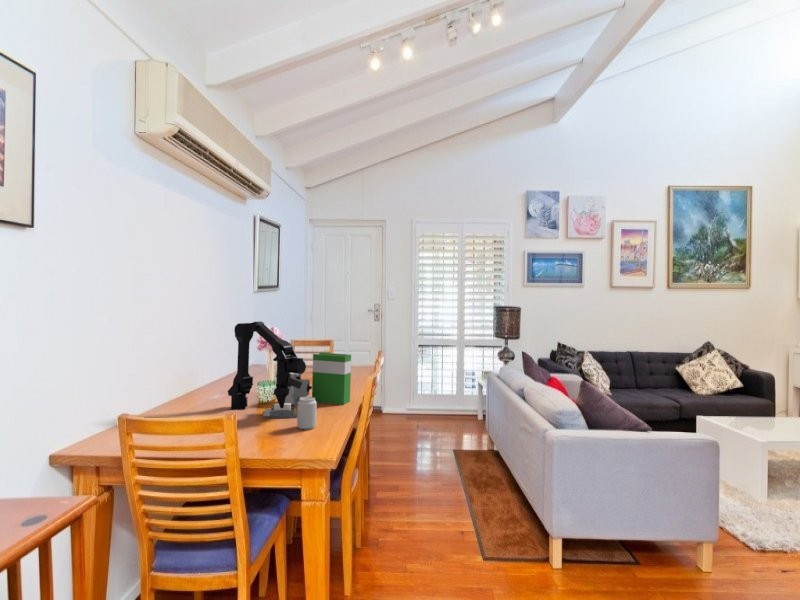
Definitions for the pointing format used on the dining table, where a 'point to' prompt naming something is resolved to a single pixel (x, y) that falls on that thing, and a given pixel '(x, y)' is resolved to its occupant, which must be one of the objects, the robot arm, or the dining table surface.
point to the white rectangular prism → (286, 407)
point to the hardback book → (331, 378)
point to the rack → (280, 413)
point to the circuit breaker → (298, 391)
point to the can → (306, 413)
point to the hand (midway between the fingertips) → (282, 406)
